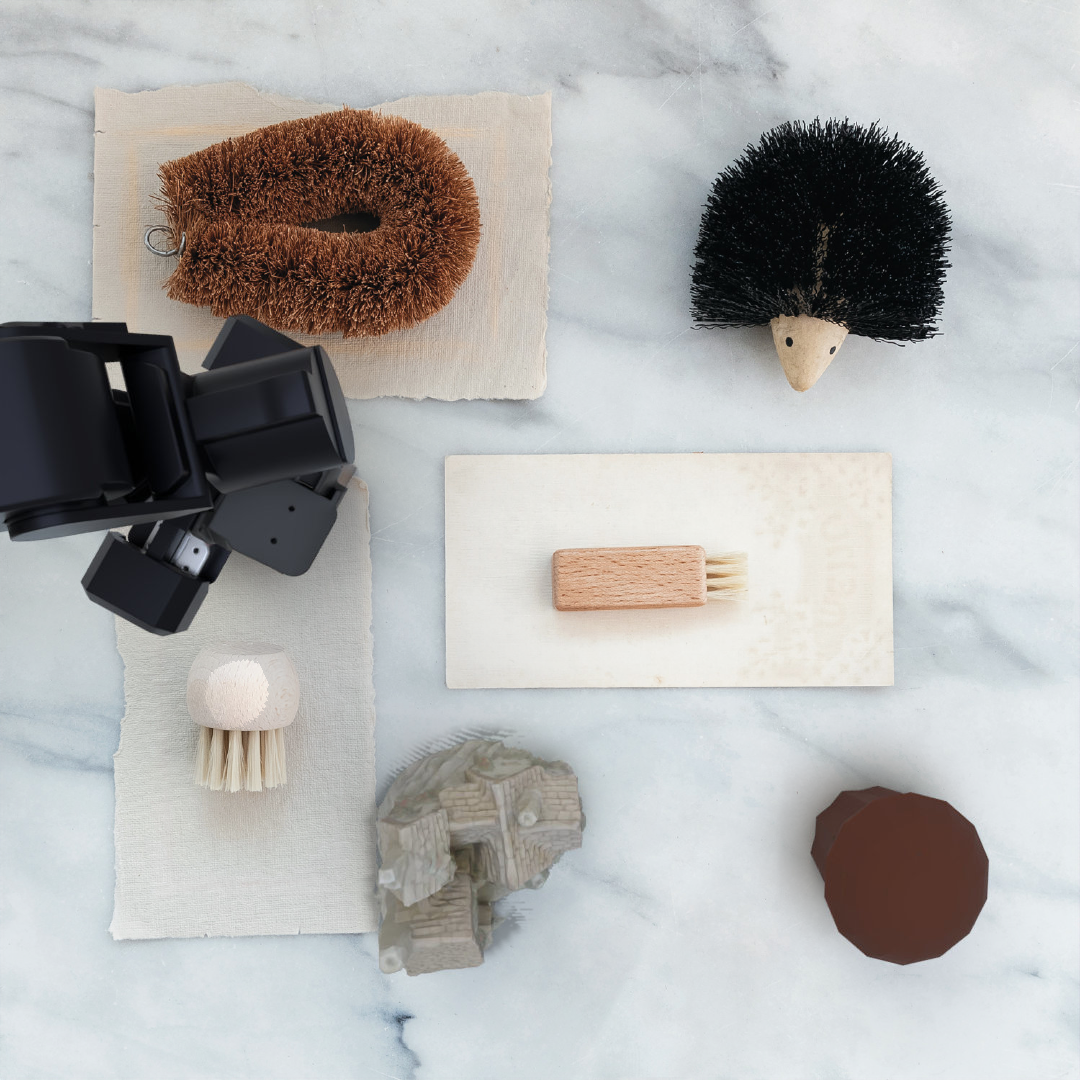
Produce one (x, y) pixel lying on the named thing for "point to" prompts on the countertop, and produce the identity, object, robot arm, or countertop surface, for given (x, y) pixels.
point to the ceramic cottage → (466, 849)
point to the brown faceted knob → (900, 873)
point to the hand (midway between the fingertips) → (253, 486)
